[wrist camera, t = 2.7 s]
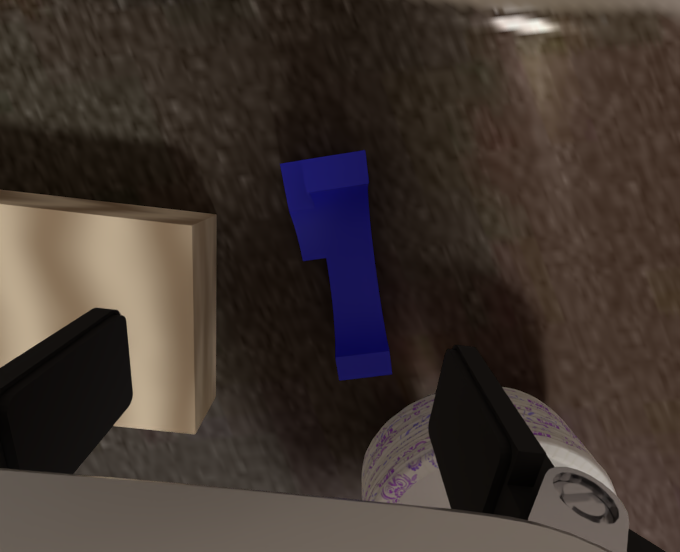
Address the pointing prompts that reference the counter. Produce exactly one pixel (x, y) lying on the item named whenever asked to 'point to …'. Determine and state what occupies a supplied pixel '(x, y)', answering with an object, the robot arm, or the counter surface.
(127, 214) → the plate
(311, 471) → the counter surface
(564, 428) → the paper bowls
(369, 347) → the blue stepped block
